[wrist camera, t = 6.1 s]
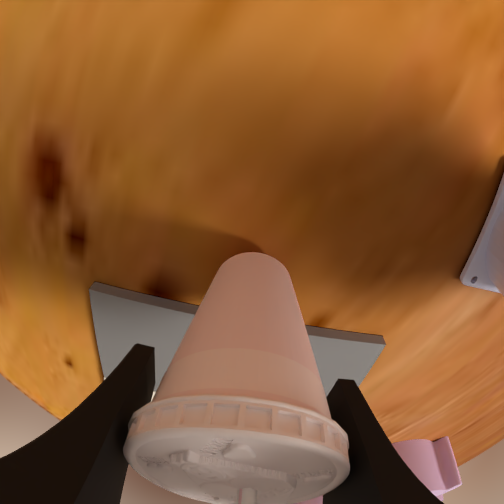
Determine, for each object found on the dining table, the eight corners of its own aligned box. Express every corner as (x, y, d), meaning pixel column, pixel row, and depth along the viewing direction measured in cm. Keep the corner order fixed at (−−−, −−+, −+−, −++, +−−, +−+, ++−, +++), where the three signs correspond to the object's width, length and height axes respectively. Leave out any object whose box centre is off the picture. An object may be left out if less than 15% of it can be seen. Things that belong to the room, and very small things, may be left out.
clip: (285, 490, 34) (285, 533, 28) (276, 457, 28) (275, 516, 22) (426, 465, 31) (436, 506, 25) (455, 424, 26) (472, 475, 20)
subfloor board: (382, 335, 19) (386, 346, 18) (311, 439, 25) (312, 448, 24) (94, 281, 18) (87, 290, 17) (115, 405, 24) (112, 413, 23)
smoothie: (245, 350, 18) (219, 603, 5) (161, 275, 16) (44, 564, 3) (343, 294, 15) (400, 598, 3) (262, 196, 13) (223, 651, 1)
